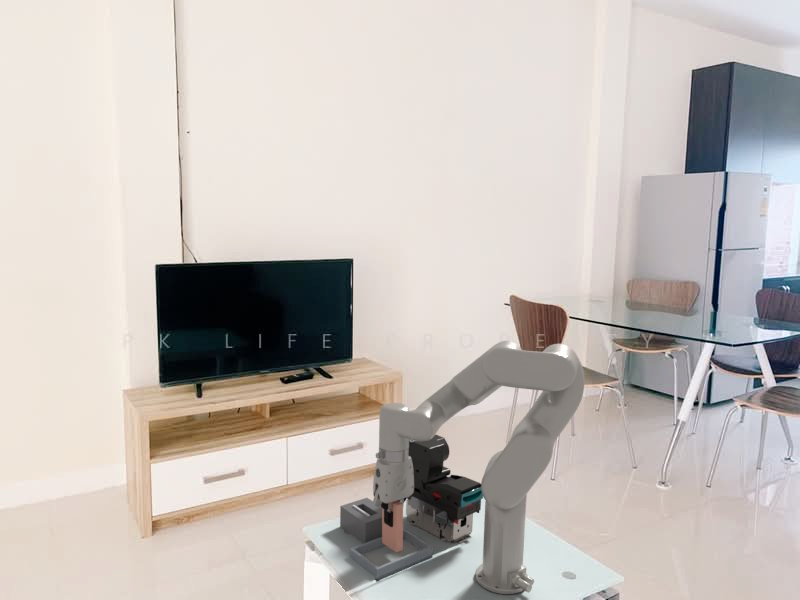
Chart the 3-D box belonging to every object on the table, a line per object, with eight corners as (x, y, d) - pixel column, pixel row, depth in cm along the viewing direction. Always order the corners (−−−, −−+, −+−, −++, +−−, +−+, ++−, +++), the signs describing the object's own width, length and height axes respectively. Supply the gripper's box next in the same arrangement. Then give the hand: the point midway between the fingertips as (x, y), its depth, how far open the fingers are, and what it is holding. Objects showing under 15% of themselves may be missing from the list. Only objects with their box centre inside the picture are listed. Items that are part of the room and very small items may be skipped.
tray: (432, 557, 154) (432, 546, 154) (376, 581, 143) (377, 569, 143) (403, 538, 163) (404, 528, 163) (349, 559, 152) (349, 548, 152)
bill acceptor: (457, 552, 157) (461, 460, 154) (397, 520, 173) (399, 437, 170) (483, 539, 164) (486, 450, 161) (422, 509, 180) (425, 429, 177)
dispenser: (392, 538, 163) (392, 512, 162) (365, 548, 158) (365, 521, 157) (366, 520, 173) (367, 496, 172) (340, 529, 167) (340, 504, 166)
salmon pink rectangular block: (402, 549, 151) (403, 503, 149) (396, 552, 149) (396, 505, 148) (388, 540, 155) (388, 495, 154) (382, 542, 154) (382, 497, 153)
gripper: (377, 465, 142) (375, 539, 144) (427, 451, 152) (425, 520, 154) (359, 455, 148) (358, 526, 150) (408, 442, 157) (406, 509, 160)
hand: (392, 523), depth 152 cm, fingers closed on salmon pink rectangular block, 1 cm apart
